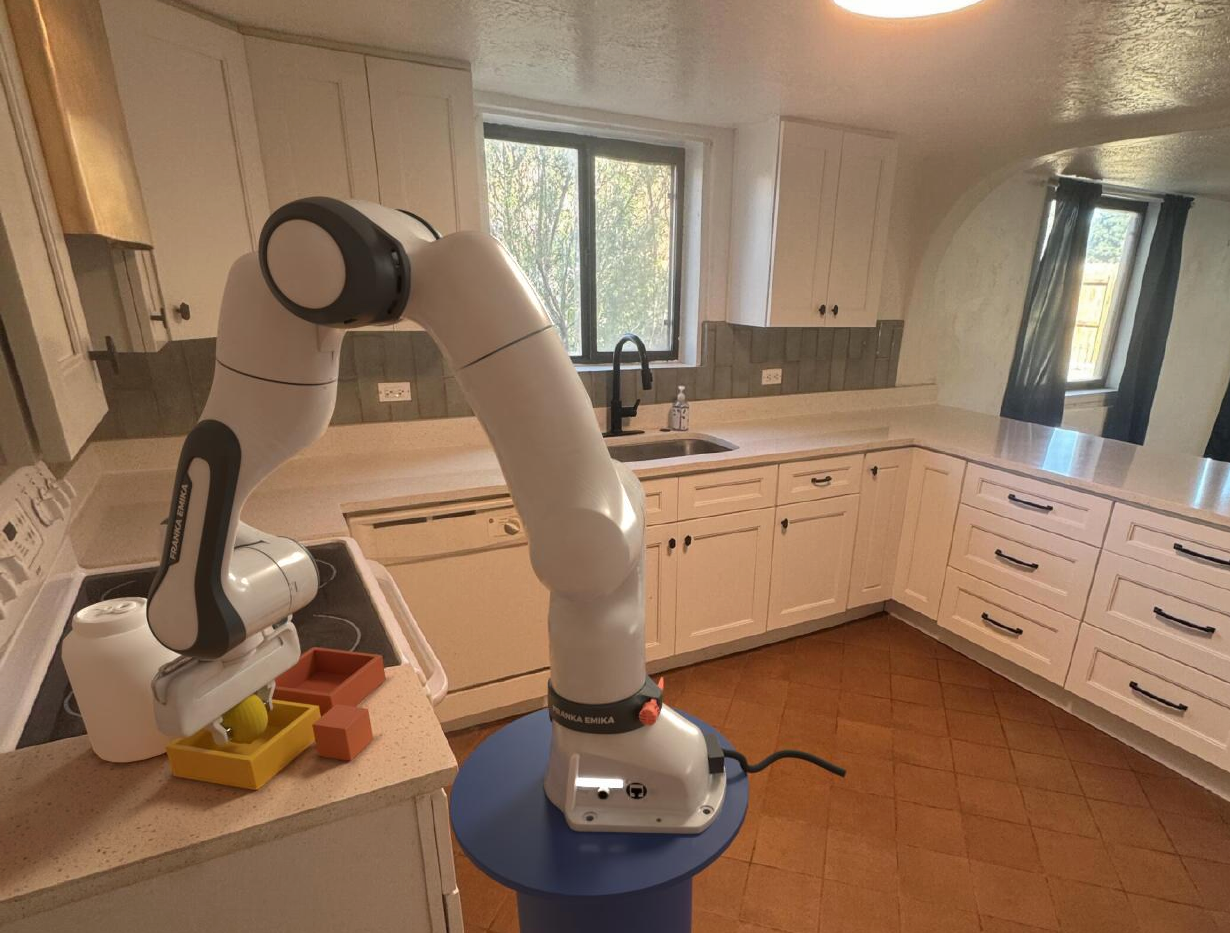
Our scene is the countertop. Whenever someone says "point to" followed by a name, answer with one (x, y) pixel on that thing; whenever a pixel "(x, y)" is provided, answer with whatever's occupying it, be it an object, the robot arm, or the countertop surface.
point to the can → (116, 678)
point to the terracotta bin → (330, 678)
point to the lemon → (246, 720)
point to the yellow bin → (247, 749)
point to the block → (343, 732)
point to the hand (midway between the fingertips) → (245, 726)
